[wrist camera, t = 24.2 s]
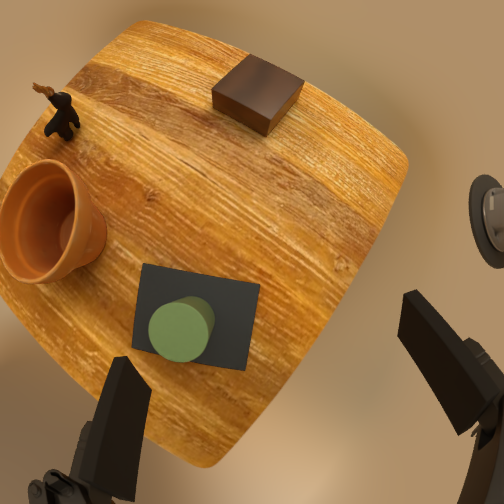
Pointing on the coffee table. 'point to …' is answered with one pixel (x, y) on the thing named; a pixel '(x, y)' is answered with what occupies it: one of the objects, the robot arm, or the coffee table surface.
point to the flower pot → (48, 224)
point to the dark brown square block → (256, 94)
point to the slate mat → (216, 295)
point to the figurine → (59, 113)
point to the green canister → (182, 328)
